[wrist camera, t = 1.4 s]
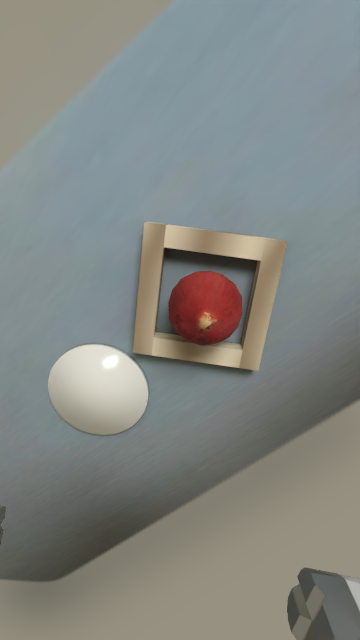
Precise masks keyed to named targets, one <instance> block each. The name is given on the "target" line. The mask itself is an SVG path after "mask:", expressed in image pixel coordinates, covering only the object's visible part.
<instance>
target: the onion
mask: <svg viewBox="0 0 360 640" xmlns="http://www.w3.org/2000/svg"><path fill="white" fill-rule="evenodd" d="M241 316H242V296H241V294H240V293H239V291H238V289H237V287H236V285H235V284H234V283H233V282H232V281H230V280H229V279H228V278H226V277H225V276H224V275H222V274H219V273H216V272H212V271H202V272H194V273H192V274H190V275H188V276H186V277H184V278H182V279H181V280H180V281H179V282H178V284H177V285H176V286H175V287H174V289H173V290H172V293H171V296H170V300H169V319H170V321H171V323H172V325H173V327H174V329H175V331H176V332H177V333H178V334H179V335H181V336H182V337H183V338H184V339H185V340H187V341H188V342H191V343H195V344H198V345H201V346H206V345H211V344H217V343H219V342H221V341H223V340H224V339H226V338H228V337H230V335H231V334H232V333H233V332H234V331H235V329H236V328H237V327H238V325H239V322H240V319H241Z"/></svg>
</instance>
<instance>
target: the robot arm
mask: <svg viewBox="0 0 360 640" xmlns="http://www.w3.org/2000/svg"><path fill="white" fill-rule="evenodd" d="M5 512H6V507H4V506H1V505H0V525H1V523H2V521H3V520H4V518H5ZM2 536H3V529H2V527H1V526H0V544H1V540H2ZM298 580H299V583H300V584H299V585H297V586H295V587H294V588H292V590H291V592H290V595H289V597H288V606H287V612H288V621H289V625H290V629H291V632H292V633H293V635H294V636H295V638H296V639H297V640H360V580H359V579H358V578H354V577H349V576H344V575H338V574H336V573H331V572H326V571H320V570H315V569H310V568H303V569H302V570H301V571H300V573H299V575H298Z"/></svg>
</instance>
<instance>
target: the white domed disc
mask: <svg viewBox="0 0 360 640" xmlns="http://www.w3.org/2000/svg"><path fill="white" fill-rule="evenodd" d="M48 391H49V396H50V399H51V402H52V404H53V406H54V408H55V409H56V411H57V412H58V413H59V415H60V416H61V417H62V418H63V419H64V420H65V421H66V422H68V423H69V424H71V425H72V426H74V427H75V428H77V429H79V430H82V431H84V432H87V433H91V434H97V435H110V434H116V433H120V432H122V431H125V430H127V429H128V428H130V427H132V426H133V425H134V424H135V423H136V422H137V421H138V420H139V419H140V418H141V416H142V415H143V413H144V411H145V408H146V406H147V402H148V397H149V388H148V383H147V379H146V376H145V374H144V372H143V370H142V369H141V367H140V366H139V365H138V363H137V362H136V361H135V360H134V359H133V358H132V357H131V356H129V355H128V354H127V353H125V352H123V351H122V350H120V349H118V348H115V347H112V346H109V345H105V344H97V343H91V344H83V345H80V346H76V347H74V348H72V349H70V350H69V351H67V352H66V353H64V354H63V355H62V356H61V357H60V358H59V359H58V360H57V362H56V363H55V364H54V366H53V368H52V370H51V372H50V375H49V379H48Z"/></svg>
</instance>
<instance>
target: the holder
mask: <svg viewBox="0 0 360 640" xmlns="http://www.w3.org/2000/svg"><path fill="white" fill-rule="evenodd" d="M286 246H287V241H284V240H278V239H271V238H263V237H256V236H249V235H241V234H234V233H227V232H219V231H212V230H205V229H197V228H190V227H183V226H175V225H168V224H161V223H153V222H144V232H143V243H142V255H141V266H140V277H139V288H138V299H137V310H136V321H135V332H134V344H133V353H138V354H145V355H152V356H159V357H166V358H173V359H180V360H187V361H194V362H201V363H208V364H215V365H222V366H229V367H236V368H243V369H249V370H256V371H258V369H259V365H260V360H261V356H262V352H263V347H264V343H265V338H266V334H267V330H268V325H269V321H270V317H271V312H272V308H273V303H274V299H275V295H276V290H277V286H278V281H279V277H280V273H281V268H282V264H283V259H284V255H285V251H286ZM165 248H172V249H180V250H187V251H194V252H201V253H209V254H216V255H223V256H230V257H238V258H245V259H252V260H258V261H257V266H256V271H255V276H254V281H253V286H252V291H251V295H250V300H249V305H248V310H247V315H246V320H245V325H244V330H243V335H242V340H241V344H237V343H230V342H223V341H221V342H219V343H217V344H211V345H206V346H201V345H198V344H195V343H191V342H188V341H187V340H185V339H184V338H183V337H182V336H181V335H174V334H167V333H160V332H156V326H157V317H158V308H159V299H160V290H161V281H162V272H163V263H164V254H165Z"/></svg>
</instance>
